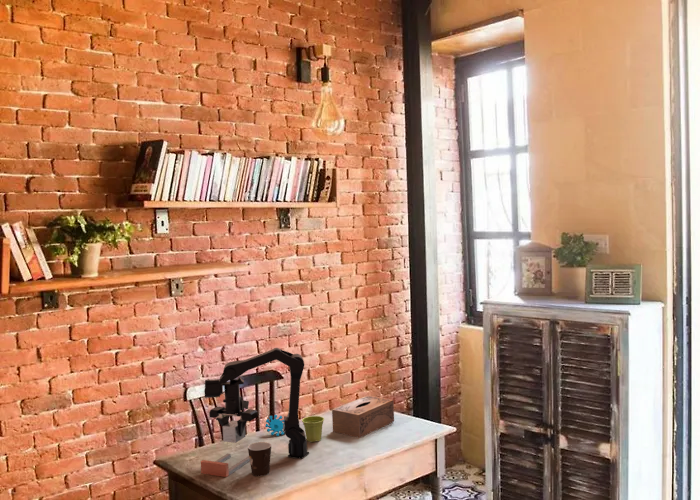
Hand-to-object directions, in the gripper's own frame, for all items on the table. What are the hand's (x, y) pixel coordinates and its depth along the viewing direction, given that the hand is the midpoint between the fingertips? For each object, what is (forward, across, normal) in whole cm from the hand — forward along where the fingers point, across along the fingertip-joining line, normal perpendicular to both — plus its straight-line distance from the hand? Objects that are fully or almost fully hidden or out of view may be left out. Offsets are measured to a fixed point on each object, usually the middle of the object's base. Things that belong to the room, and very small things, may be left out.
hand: (234, 435), depth 254 cm
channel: (+10, 0, +5) cm, 11 cm away
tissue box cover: (+11, -33, -52) cm, 63 cm away
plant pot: (+10, -19, -30) cm, 37 cm away
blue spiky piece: (+10, -1, -33) cm, 34 cm away
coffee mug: (+10, -16, +9) cm, 21 cm away
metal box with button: (+1, 0, 0) cm, 1 cm away
